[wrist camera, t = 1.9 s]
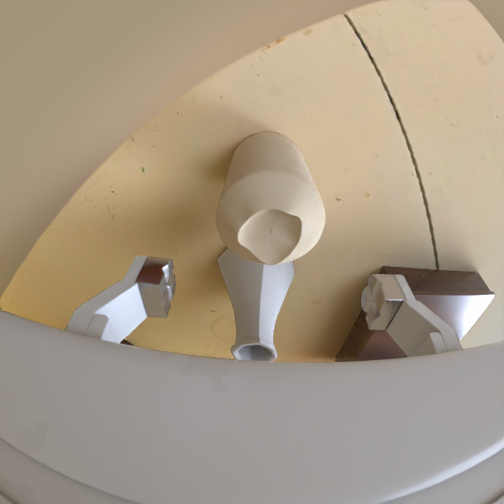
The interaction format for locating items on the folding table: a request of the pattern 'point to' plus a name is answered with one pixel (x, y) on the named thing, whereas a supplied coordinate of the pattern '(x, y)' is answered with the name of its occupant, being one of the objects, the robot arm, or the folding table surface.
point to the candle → (269, 202)
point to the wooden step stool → (434, 298)
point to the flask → (255, 303)
